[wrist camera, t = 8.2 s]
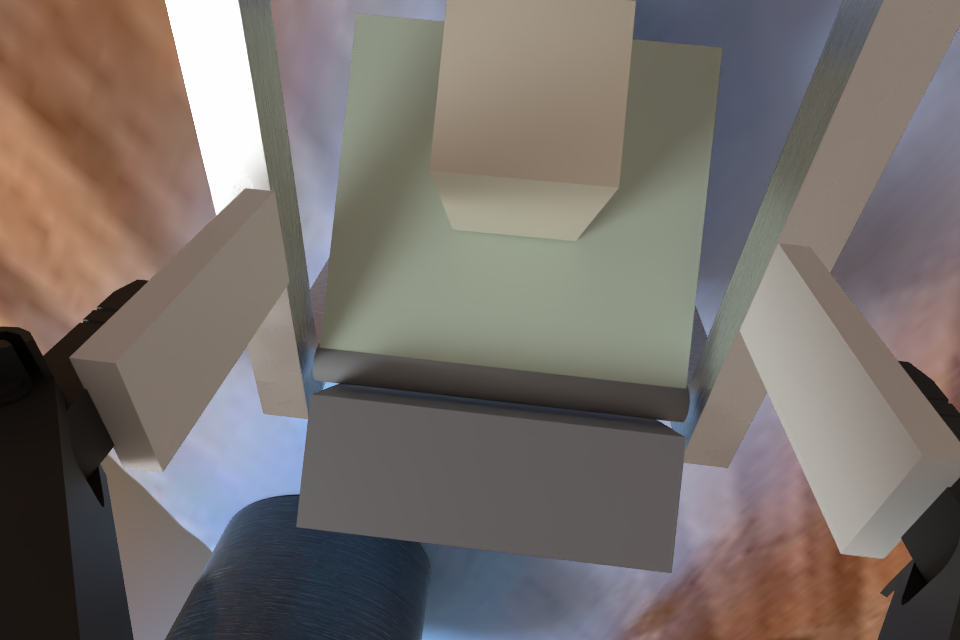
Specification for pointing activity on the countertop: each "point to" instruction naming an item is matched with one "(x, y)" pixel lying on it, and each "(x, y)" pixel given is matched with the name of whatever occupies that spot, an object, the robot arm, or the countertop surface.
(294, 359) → the frame
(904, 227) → the countertop surface
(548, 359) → the trapdoor
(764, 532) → the countertop surface
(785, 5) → the countertop surface
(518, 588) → the countertop surface
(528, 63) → the cream rectangular block
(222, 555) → the planter
